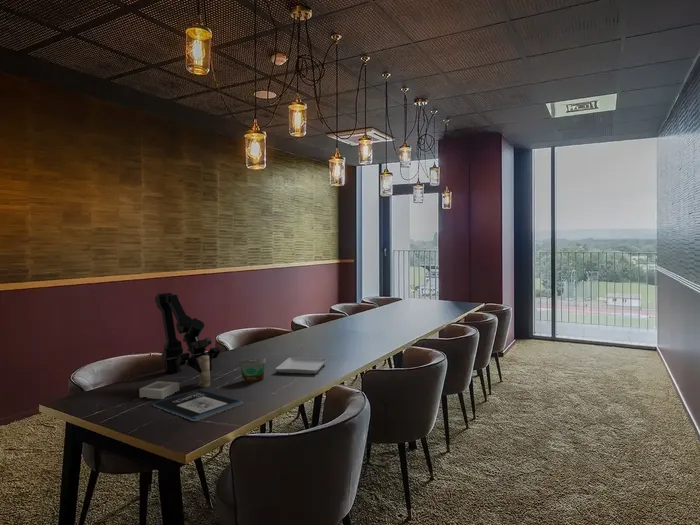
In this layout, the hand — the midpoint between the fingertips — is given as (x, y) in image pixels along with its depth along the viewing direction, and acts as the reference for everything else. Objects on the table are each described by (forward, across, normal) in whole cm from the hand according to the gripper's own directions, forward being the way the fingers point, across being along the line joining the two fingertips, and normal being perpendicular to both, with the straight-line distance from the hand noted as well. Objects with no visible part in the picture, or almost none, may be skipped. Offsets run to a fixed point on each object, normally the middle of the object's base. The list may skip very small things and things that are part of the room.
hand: (206, 371), depth 203 cm
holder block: (+1, -18, +9) cm, 20 cm away
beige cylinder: (+4, 0, +6) cm, 7 cm away
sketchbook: (+19, -14, -8) cm, 25 cm away
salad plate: (+13, +45, -3) cm, 47 cm away
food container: (+12, +18, -2) cm, 21 cm away
